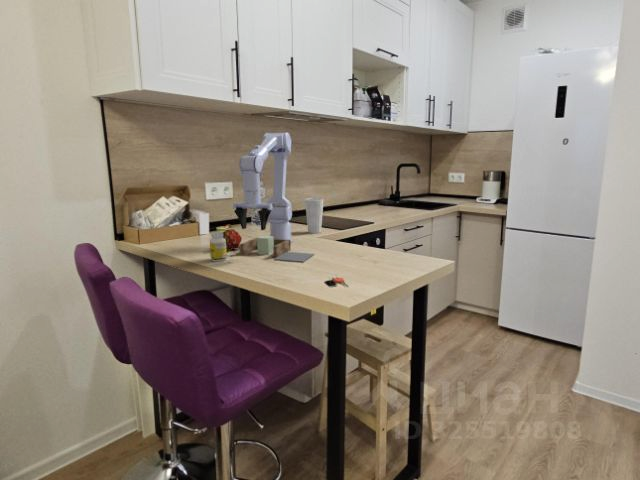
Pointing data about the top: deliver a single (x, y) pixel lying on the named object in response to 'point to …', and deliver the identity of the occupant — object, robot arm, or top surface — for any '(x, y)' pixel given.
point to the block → (265, 244)
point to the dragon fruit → (232, 239)
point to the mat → (294, 257)
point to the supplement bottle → (218, 247)
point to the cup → (314, 214)
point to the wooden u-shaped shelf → (278, 249)
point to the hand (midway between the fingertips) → (253, 229)
